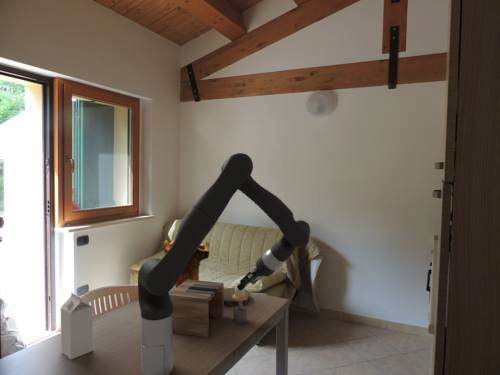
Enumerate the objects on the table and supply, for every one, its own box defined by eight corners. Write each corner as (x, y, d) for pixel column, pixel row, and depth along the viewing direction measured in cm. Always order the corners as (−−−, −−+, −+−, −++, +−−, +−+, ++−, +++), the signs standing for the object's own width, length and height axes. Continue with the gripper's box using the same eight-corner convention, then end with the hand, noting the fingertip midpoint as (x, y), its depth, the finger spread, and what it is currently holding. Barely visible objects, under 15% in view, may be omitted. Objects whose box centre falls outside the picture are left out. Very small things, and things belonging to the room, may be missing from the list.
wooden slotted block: (207, 337, 122) (207, 298, 122) (166, 331, 126) (166, 294, 126) (223, 316, 140) (223, 282, 139) (187, 312, 144) (187, 279, 143)
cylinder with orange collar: (247, 325, 132) (247, 284, 131) (232, 324, 132) (232, 284, 131) (247, 318, 138) (247, 279, 137) (232, 318, 138) (232, 279, 137)
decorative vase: (204, 306, 149) (201, 242, 148) (156, 304, 154) (153, 242, 153) (218, 289, 170) (216, 234, 168) (175, 288, 174) (172, 234, 173)
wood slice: (243, 309, 148) (243, 302, 148) (209, 304, 153) (209, 297, 153) (254, 296, 163) (254, 290, 163) (223, 292, 168) (223, 286, 168)
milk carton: (83, 344, 117) (82, 289, 116) (93, 351, 112) (92, 294, 111) (61, 352, 111) (60, 295, 110) (70, 360, 107) (69, 301, 106)
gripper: (274, 249, 133) (250, 273, 140) (254, 257, 121) (228, 282, 128) (286, 265, 130) (260, 288, 137) (266, 274, 119) (239, 299, 126)
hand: (245, 285), depth 133 cm, fingers open, 8 cm apart
